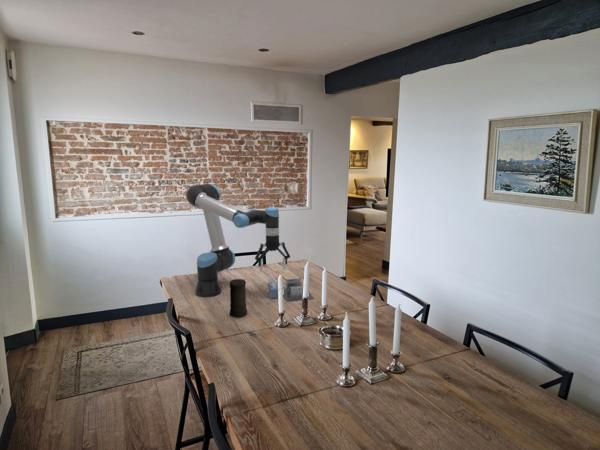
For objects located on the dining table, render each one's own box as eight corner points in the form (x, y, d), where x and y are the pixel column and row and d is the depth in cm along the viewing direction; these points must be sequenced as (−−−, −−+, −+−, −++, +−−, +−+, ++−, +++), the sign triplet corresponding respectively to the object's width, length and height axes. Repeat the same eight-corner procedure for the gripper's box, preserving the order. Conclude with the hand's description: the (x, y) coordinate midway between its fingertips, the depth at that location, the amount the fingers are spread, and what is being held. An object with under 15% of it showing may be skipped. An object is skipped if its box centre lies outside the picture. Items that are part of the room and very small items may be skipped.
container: (248, 311, 209) (248, 278, 205) (244, 318, 200) (244, 284, 197) (232, 310, 210) (231, 278, 206) (227, 317, 201) (226, 284, 198)
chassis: (279, 289, 241) (279, 277, 240) (304, 287, 245) (304, 275, 244) (287, 301, 222) (286, 289, 221) (313, 298, 227) (314, 286, 225)
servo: (268, 294, 234) (267, 279, 232) (274, 293, 235) (274, 279, 233) (271, 299, 225) (271, 284, 224) (277, 298, 226) (277, 284, 225)
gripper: (251, 237, 216) (252, 274, 220) (295, 234, 223) (295, 270, 227) (249, 234, 223) (250, 270, 227) (292, 232, 230) (292, 267, 234)
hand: (272, 270), depth 227 cm, fingers open, 13 cm apart
